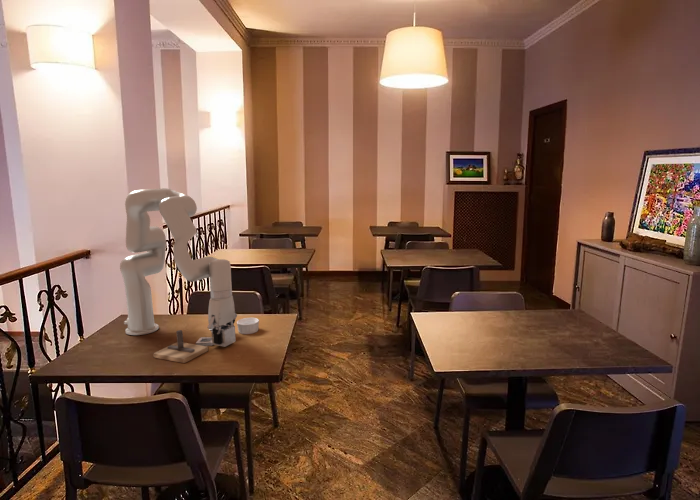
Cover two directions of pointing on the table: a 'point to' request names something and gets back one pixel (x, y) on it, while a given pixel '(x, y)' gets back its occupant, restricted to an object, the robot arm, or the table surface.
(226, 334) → the link
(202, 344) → the link
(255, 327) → the ramekin
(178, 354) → the base
